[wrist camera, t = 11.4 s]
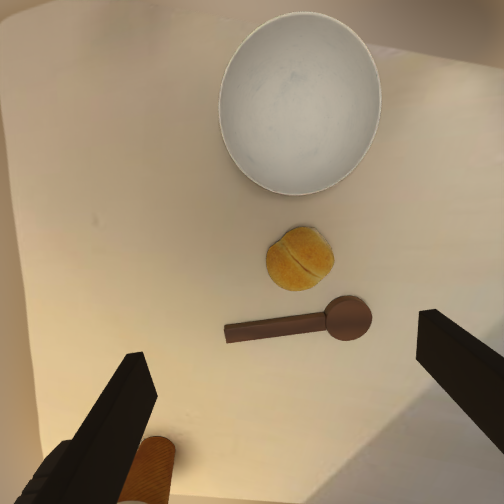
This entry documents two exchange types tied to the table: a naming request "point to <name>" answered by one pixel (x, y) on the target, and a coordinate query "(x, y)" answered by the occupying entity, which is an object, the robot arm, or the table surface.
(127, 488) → the disposable coffee cup
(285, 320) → the wooden spoon
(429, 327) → the robot arm
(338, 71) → the chinaware
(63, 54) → the table surface
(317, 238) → the bread roll
